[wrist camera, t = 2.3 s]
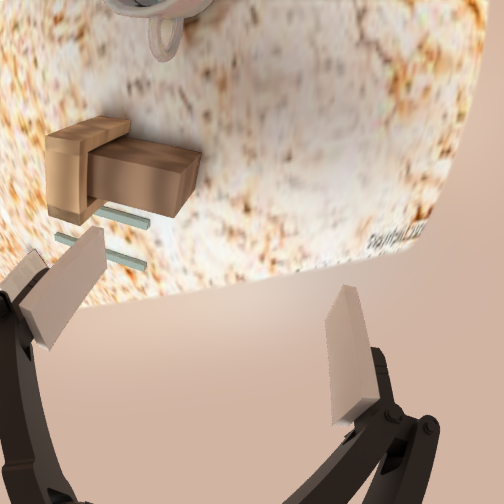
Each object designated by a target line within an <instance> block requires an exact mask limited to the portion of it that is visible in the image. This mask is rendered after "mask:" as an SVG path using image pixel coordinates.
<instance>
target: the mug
mask: <svg viewBox="0 0 504 504" xmlns="http://www.w3.org/2000/svg"><path fill="white" fill-rule="evenodd" d="M103 1H104V3H105V4H106V6H107V7H108V8H110V9H111V10H112V11H114V12H115V13H117V14H119V15H124V16H129V17H146V18H150V21H149V31H148V32H149V43H150V48H151V51H152V54H153V56H154V57H155V58H156V59H157V60H158V61H159V62H166V61H169V60H171V59H172V58H173V57H174V56H175V54H176V52H177V50H178V47H179V44H180V40H181V36H182V30H183V24H184V19H185V18H189V17H193V16H195V15H197V14H199V13H201V12H202V11H204V10H205V9H206V8H207V7H208V6H209V5H210V4H211V3H212V2H213V0H103ZM162 18H165V19H174V26H173V31H172V36H171V39H170V42H169V45H168V47H167V49H166V50H164V48H163V46H162V43H161V35H160V29H161V21H162Z"/></svg>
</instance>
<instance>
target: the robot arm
mask: <svg viewBox="0 0 504 504" xmlns="http://www.w3.org/2000/svg"><path fill="white" fill-rule="evenodd" d="M106 269H107V261H106V252H105V241H104V229H103V228H100V227H96V226H91V227H90V228H89V229H88V230H87V231H86V232H85V233H84V234H83V235H82V236H81V237H80V238H79V239H78V240H77V241H76V242H75V243H74V244H73V245H72V246H71V247H70V248H69V249H68V250H67V251H66V252H65V253H64V254H63V255H62V256H61V257H60V259H59V260H58V261H57V262H56V263H55V264H54V265H53V266H52V267H51V268H47V267H46V268H44V269H42V270H41V271H39V272H38V273H37V274H36V275H35V276H34V277H33V278H32V280H30V281H29V283H28V284H27V285H26V286H25V287H24V288H23V289H22V291H21V292H20V293H19V294H18V295H17V296H16V298H15V299H14V300H13V301H12V302H11V300H10V298H9V295H8V294H7V292H5V291H3V290H0V440H1V445H2V449H3V454H4V458H5V465H4V466H3V467H2V476H3V480H4V483H5V486H6V489H7V493H8V496H9V498H10V501H11V504H93V503H89V502H86V501H85V503H84V502H78V501H77V498H76V496H75V494H74V492H73V490H72V487H71V486H70V484H69V483H68V481H67V480H66V479H65V477H64V475H63V473H62V471H61V468H60V465H59V463H58V460H57V457H56V454H55V451H54V447H53V444H52V441H51V438H50V434H49V431H48V427H47V423H46V419H45V415H44V411H43V407H42V402H41V398H40V392H39V388H38V382H37V376H36V370H35V363H34V355H33V347H32V344H31V342H32V340H33V339H35V341H36V343H37V345H38V346H40V347H42V348H44V349H46V350H48V351H50V350H51V348H52V346H53V345H54V343H55V342H56V340H57V338H58V337H59V335H60V334H61V332H62V331H63V329H64V328H65V326H66V325H67V323H68V322H69V320H70V319H71V317H72V316H73V314H74V313H75V312H76V310H77V309H78V307H79V306H80V304H81V303H82V302H83V300H84V299H85V297H86V296H87V295H88V293H89V292H90V290H91V289H92V288H93V286H94V285H95V284H96V282H97V281H98V280H99V278H100V277H101V276H102V274H103V273H104V272H105V270H106ZM325 327H326V338H327V348H328V359H329V374H330V388H331V403H332V404H331V405H332V426H349V425H350V424H351V423H352V422H354V426H355V428H354V429H353V430H352V431H351V432H349V433H348V434H347V435H345V436H344V437H345V439H344V441H343V442H342V443H341V444H340V446H339V447H338V448H337V449H336V450H335V451H334V452H333V453H332V454H331V456H330V457H329V458H328V459H327V460H326V461H325V462H324V463H323V464H322V465H321V466H320V467H319V469H318V470H317V471H316V472H315V473H314V474H313V475H312V476H311V477H310V478H309V479H308V480H307V481H306V482H305V483H304V484H303V485H302V486H301V487H300V488H299V489H297V490H296V491H295V492H294V493H293V494H292V495H291V496H290V497H289V498H288V499H287V500H286V501H284V502H283V503H282V504H347V503H348V502H349V501H350V499H351V498H352V497H353V496H354V495H355V493H356V492H357V491H358V490H359V488H360V487H361V486H362V484H363V483H364V482H365V481H366V479H367V478H368V477H369V475H370V473H371V472H372V471H373V470H374V468H375V467H376V465H377V464H378V463H379V461H380V463H379V465H378V468H377V470H376V473H375V475H374V478H373V480H372V482H371V485H370V487H369V489H368V492H367V494H366V496H365V498H364V500H363V502H362V504H422V501H423V498H424V495H425V492H426V488H427V485H428V481H429V478H430V474H431V470H432V467H433V462H434V458H435V454H436V449H437V445H438V439H439V434H440V426H439V423H438V421H437V420H436V418H434V417H433V416H430V415H425V416H423V417H422V418H420V419H416V418H413V417H410V416H407V415H405V414H404V412H403V410H402V408H401V407H399V405H397V404H395V402H394V398H393V392H392V387H391V383H390V378H389V375H388V369H387V364H386V360H385V356H384V355H383V353H382V351H381V350H380V349H379V348H375V347H370V343H369V338H368V334H367V330H366V325H365V321H364V317H363V313H362V309H361V305H360V300H359V296H358V292H357V289H356V287H351V286H347V285H343V286H342V288H341V290H340V292H339V295H338V296H337V298H336V300H335V302H334V304H333V306H332V308H331V310H330V311H329V313H328V315H327V317H326V319H325Z"/></svg>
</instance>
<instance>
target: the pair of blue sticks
mask: <svg viewBox="0 0 504 504" xmlns="http://www.w3.org/2000/svg"><path fill="white" fill-rule="evenodd" d="M94 215H98V216H101V217H104V218H108V219H111V220H114V221H117V222H121V223H124V224H127V225H131V226H134V227H137V228H141V229H144V230H147V229H148V228H149V222H150V220H148V219H145V218H141V217H138V216H135V215H131V214H128V213H124V212H121V211H117V210H114V209H110V208H107V207H103V206H102V207H101V208H99V209H98V210H97V211H96V212H95V213H94ZM77 240H78V239H75V238H73V237H70V236H67V235H64V234H61V233H59V232H57V233H56V234H55V241H58V242H61V243H63V244H66V245H69V246H72V245H73V244H74V243H75V242H76V241H77ZM105 252H106V259H108V260H111V261H114V262H116V263H119V264H122V265H125V266H128V267H131V268H134V269H137V270H140V271H143V272H144V271H145V269H146V262H144V261H141V260H137V259H134V258H131V257H128V256H125V255H122V254H119V253H116V252H113V251H110V250H107V249H105Z"/></svg>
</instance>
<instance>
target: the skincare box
mask: <svg viewBox="0 0 504 504" xmlns="http://www.w3.org/2000/svg"><path fill="white" fill-rule="evenodd" d="M46 267H47V266H46V264H45V263H44V262H43V260H42V259H41V257H40V256H39V255H38V253H37V252H36V250H35V249H34V250H33V251H31V252H30V253H29V254H27V255H26V256H25V257H24V258H23V259H22V260H21V261H20V262H19V264H18V265H17V266H16V267H15V268H14V269H13V270H12V271H11V272H10V273H9V274H8V276H7V277H6V278H5V279H4V280H3V281H2V282H1V284H0V290H3V291H5V292H7V294H8V295H9V298H10V300H11V302H12V301H13V300H14V299H15V298H16V296H17V295H18V294H19V293H20V292H21V291H22V289H23V288H24V287H25V286H26V285H27V284H28V283H29V281H30V280H32V278H33V277H34V276H35V275H36V274H37V273H38V272H39V271H41V270H42V269H44V268H46ZM47 268H48V267H47Z"/></svg>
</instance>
